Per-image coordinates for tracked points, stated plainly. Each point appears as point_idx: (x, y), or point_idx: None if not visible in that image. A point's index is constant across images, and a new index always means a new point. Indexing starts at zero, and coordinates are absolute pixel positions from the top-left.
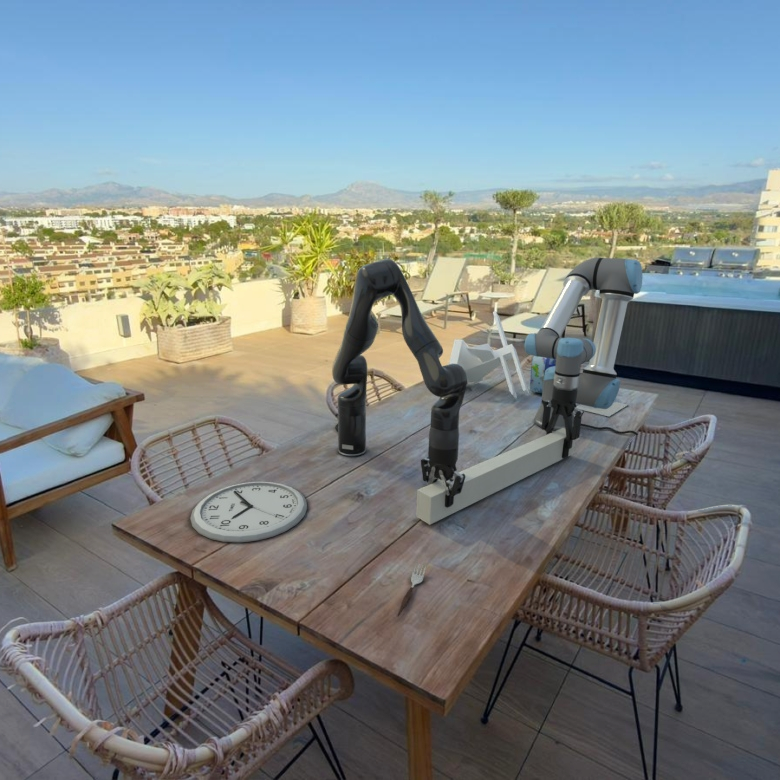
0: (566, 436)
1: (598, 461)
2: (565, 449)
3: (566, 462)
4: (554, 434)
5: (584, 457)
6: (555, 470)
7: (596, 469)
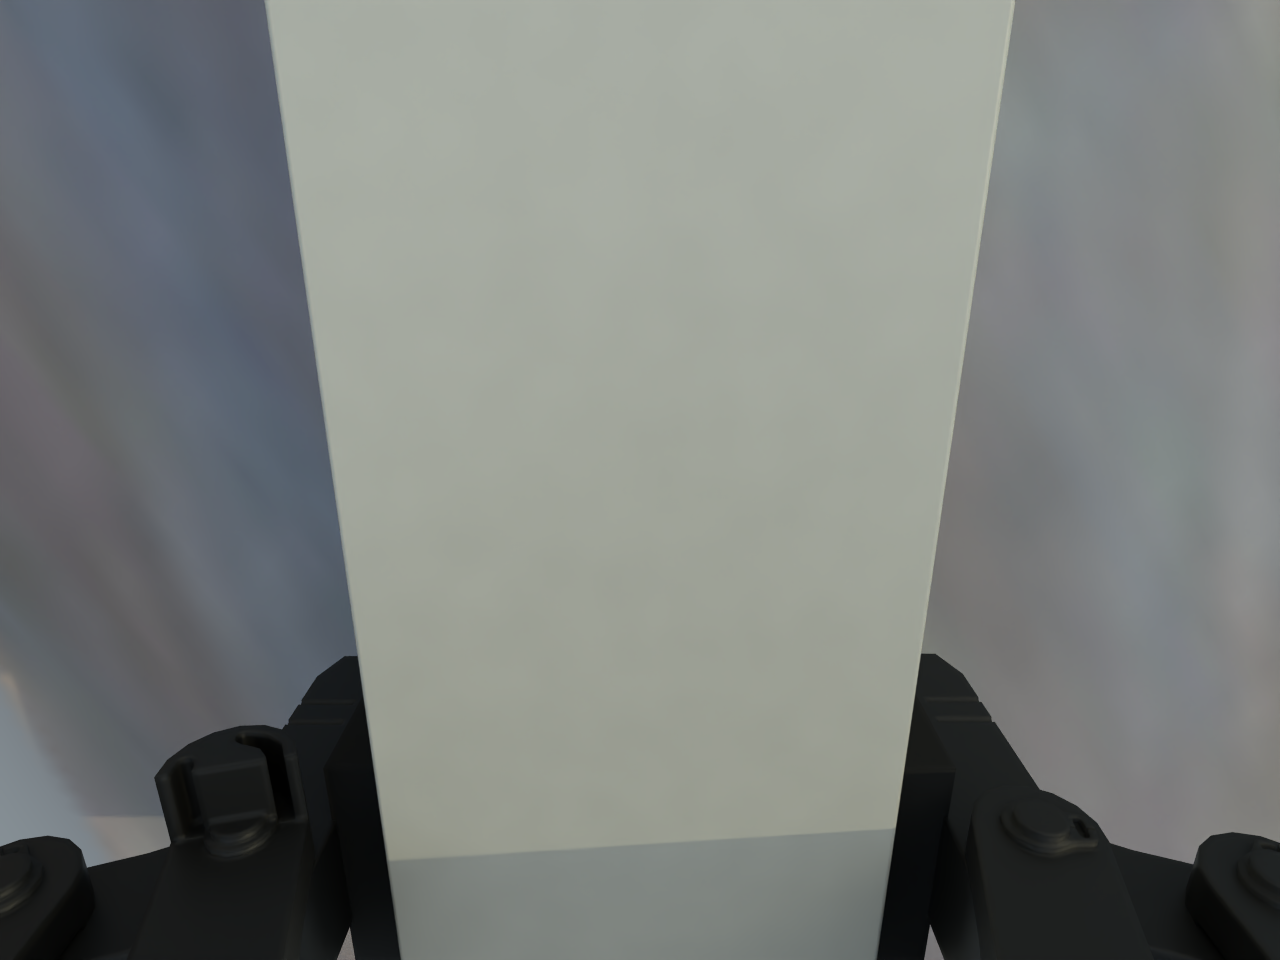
0: (289, 868)
1: None
2: None
3: None
4: (741, 796)
5: None
6: None
7: (96, 683)
